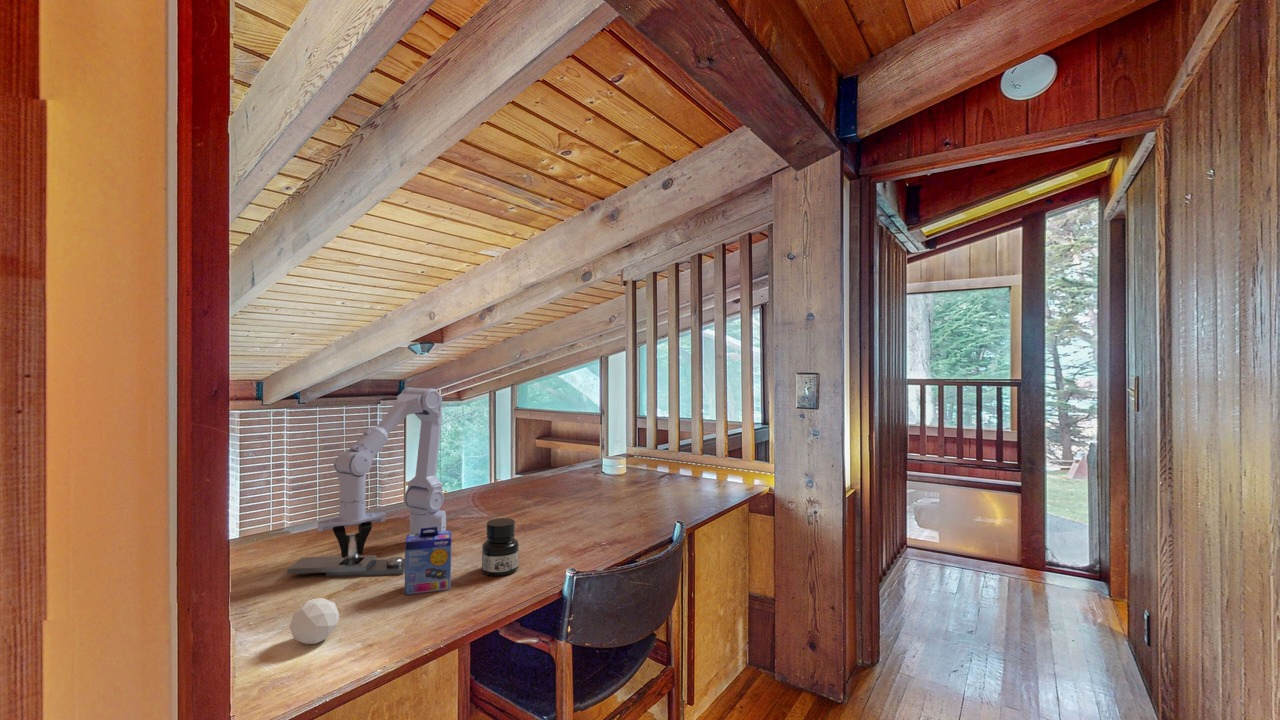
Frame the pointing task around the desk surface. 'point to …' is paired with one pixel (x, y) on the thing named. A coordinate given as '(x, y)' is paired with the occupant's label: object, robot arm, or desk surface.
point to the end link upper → (329, 565)
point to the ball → (314, 621)
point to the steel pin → (352, 548)
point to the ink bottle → (500, 548)
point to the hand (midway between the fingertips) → (352, 554)
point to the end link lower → (376, 568)
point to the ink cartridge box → (428, 561)
